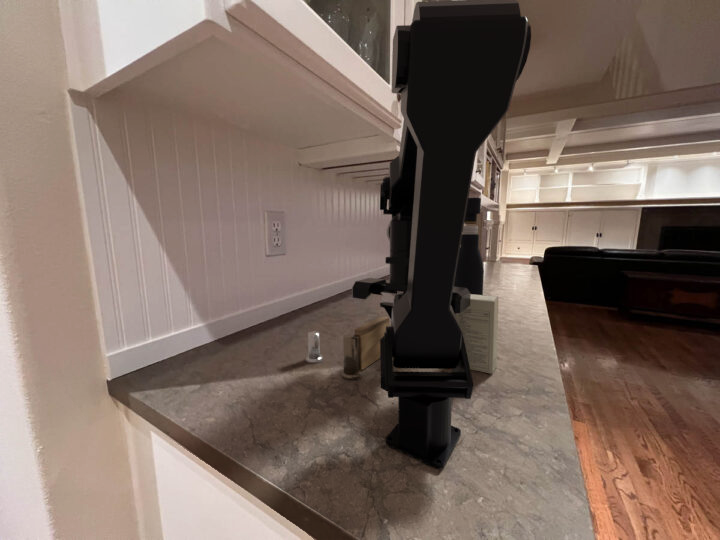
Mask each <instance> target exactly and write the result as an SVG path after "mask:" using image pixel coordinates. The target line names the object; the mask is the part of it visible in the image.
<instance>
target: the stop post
mask: <svg viewBox="0 0 720 540" xmlns="http://www.w3.org/2000/svg"><path fill="white" fill-rule="evenodd" d="M307 343H308V354H307V356H305V361H306V362H307V364H308V363H309V364H319V363H321V362H322V361H323V360H324V357H323V354H321V350H320V349H321V347H320V346H321V345H320V344H321V343H320V332H319V331H314V330H313V331H312V330H311V331H309V332H308V334H307Z"/></svg>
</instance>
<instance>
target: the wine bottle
mask: <svg viewBox="0 0 720 540" xmlns="http://www.w3.org/2000/svg"><path fill="white" fill-rule="evenodd" d="M481 205H482V198H481V197H468V203H467V209H466V215H465V221H464V227H463V233H462V239H461V245H460V251H459V257H458V263H457V269H456V275H455V281H454V287H463V288H467V289H468V291H469V292H470V294H475V295H484V277H485V275H484V274H485V268H484V263H483V262H484V261H483V257H482V254H481V252H480V246H479V245H480V235H479V234H478V233H479V230H478V229H479V227H478V225H474V224H477V223H478V222H477V220H478V219H477V218H478V216H477V215H479V214H481V210H482V209H481V208H482V206H481ZM471 224H472V225H471Z"/></svg>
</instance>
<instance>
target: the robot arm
mask: <svg viewBox="0 0 720 540" xmlns="http://www.w3.org/2000/svg"><path fill="white" fill-rule="evenodd" d="M520 8H521V7H520V5H519V1H517V0H431V1H428V0H427V1H417V2H416V3H415V6H414V9H413V12H412V13H413V14H412V19H411V20H412V21H411V24H410V25H409V24H407V25H406V24H405V25H403V24H401V25H396V27H395V31H394V33H393V38H392V55H391V57H392V61H391V62H392V63H391V90H390V91H391V94H394V95H396V94H397V95H400V113H401V115H402V117H403V122H402V123H403V124H402V131H401V138H400V145H399V153H398V156H396V157H395V158H394V159H393V160H391V161H390V162H389V167H388V175H387V176H384V177H383V178H382V182H381V183H380V184H379V185H380V189H379V210H380V211H382V215H384V216H385V215H386V216H387V215H389V216H390V215H391V220H390V221H389V223H388V224H387V229H386V237H387V239H388V241H389V256H386V257H385V264H388V265H389V281H386V279H384V278H383V279H382V278H375V277H374V278H373V277H368V278H363V279H359V280H356V281H355V282H354V283H353V284H352V286H351V298H354V299H359V300H360V299H361V300H368V298H369V297H370V296H371V295H377V296H382V297H381V298H382V299H381V301H382V302H380V303H379V306H380V308H384V309H385V312H386V314H387V315H388V317H389V320H390V325H389V326H386V332H384V336H383V337H382V338H381V339H380V358H379V359H380V361H379V362H380V363H379V364H380V379H379V381H380V389H382V390H384V391H385V392H387V397H388V399H394V398H397V399H398V402H397V404H398V407H397V408H398V411H397V412H398V414H397V417H398V418H397V424H396V425H395V426H394V428H392V429H391V431H390V432H389V433H388V434H387V435H386V436H385V445H387V446H390V447H392V448H394V449H395V450H397V451H399V452H402V453H404V454H406V455H408V456H410V457H412V458H415V459H417V460H418V461H420V462H423V463H425V464H427V465H429V466H431V467H433V468H435V469H438V470H442V469H444V468H445V466H446V464H447V463H448V460H449V458H450V456H451V455H452V453H453V450H454V449H455V447H456V445H457V443H458V441H459V439H460V437H461V435H462V434H461V433H462V431H461V429H460V428H459V427H456V426H453V425H452V412H453V409H452V406H453V399H465V400H472V395H473V390H474V380H473V375H472V371H471V370H472V369H470V366H469V361H468V356H467V352H466V347H465V342H464V337H463V333H462V330H461V328H460V326H459V323H458V321H457V318H456V316H455V313H461V312H462V311H464V310H465V309H466V308H468V307H469V306H470V297H471V295H470V292H469V291H468V289H467V288H463V287H454V281H455V275H456V269H457V263H458V257H459V251H460V246H461V239H462V234H463V227H464V226H465V224H464V221H465V215H466V209H467V203H468V198H470V197H469V195H470V191H471V185H472V184H471V183H472V178H473V173H474V167H475V161H476V155H477V152H478V151H479V149H480V148H481V146H483V145H484V143H485V141H486V140H487V139H488V138H489V136H490V135H491V134H492V132H493V131H495V129H496V127H497V126H498V125H499V123H500V122H501V121H502V120H503V118H504V117H505V116H506V115H507V114H508V111H509V108H510V104H511V103H512V102H511V101H512V97H513V95H514V92H515V91H514V90H515V86H516V83H517V81H518V79H519V78H520V76H521V75H522V73H523V70H524V68H525V66H526V64H527V60H528V57H529V54H530V49H531V41H532V27H531V24H530V22H529V21H528V19H527V16H525V15H522V14H521V9H520ZM394 369H431V370H432V369H436V370H437V369H438V370H441V369H442V370H449V369H450V370H452V371H400V370H398V371H396V370H395V371H394Z"/></svg>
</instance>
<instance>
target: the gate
mask: <svg viewBox="0 0 720 540" xmlns="http://www.w3.org/2000/svg"><path fill="white" fill-rule="evenodd" d="M386 326H390V317H389V316H383V315H382V316H380V317H378V318H376V319H373V321H370V322H368V323H366V324H363V325H361V326H359V327H357V328H355V329H354V334H355V335H357V336H358V369H360V370H361V371H363V370H365V369H367V368H368V367H369V366H370V365H371V364H374V363H375V362H376V361H378V360H379V359H380V339H381V338H382V337H383V336H384V332H386Z"/></svg>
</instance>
